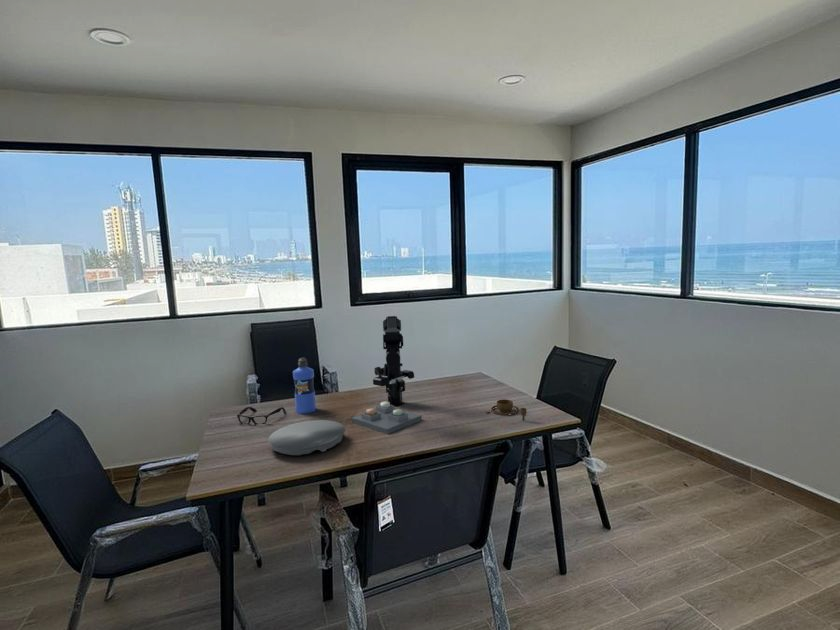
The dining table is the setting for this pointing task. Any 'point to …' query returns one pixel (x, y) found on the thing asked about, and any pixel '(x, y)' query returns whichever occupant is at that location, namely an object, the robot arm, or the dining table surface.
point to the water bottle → (304, 388)
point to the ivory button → (385, 405)
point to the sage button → (397, 412)
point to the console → (386, 420)
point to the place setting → (508, 408)
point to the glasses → (257, 416)
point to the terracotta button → (371, 411)
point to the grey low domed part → (307, 437)
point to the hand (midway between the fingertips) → (395, 398)
